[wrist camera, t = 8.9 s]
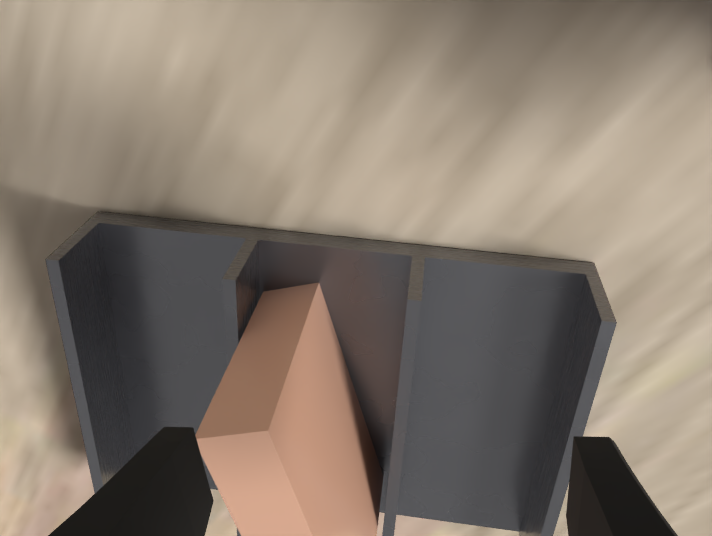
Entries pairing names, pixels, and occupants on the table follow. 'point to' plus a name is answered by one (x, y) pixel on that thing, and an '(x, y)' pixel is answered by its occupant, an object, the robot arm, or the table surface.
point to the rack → (347, 353)
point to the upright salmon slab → (291, 427)
